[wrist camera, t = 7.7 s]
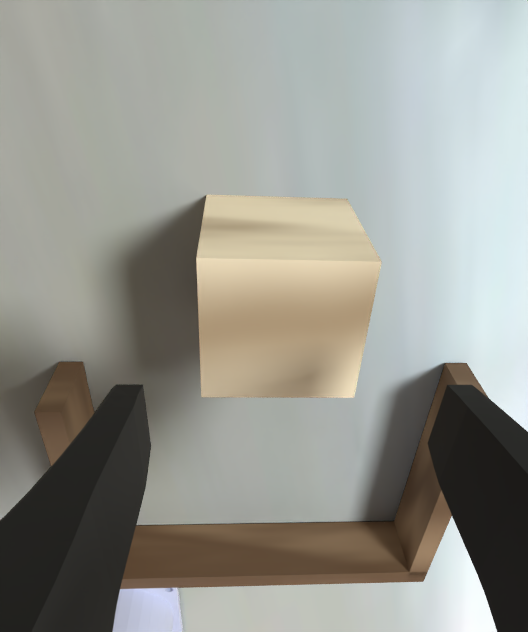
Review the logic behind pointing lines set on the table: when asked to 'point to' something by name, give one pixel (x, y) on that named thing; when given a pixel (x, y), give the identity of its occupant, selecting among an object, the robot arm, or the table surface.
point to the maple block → (283, 296)
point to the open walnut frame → (272, 538)
